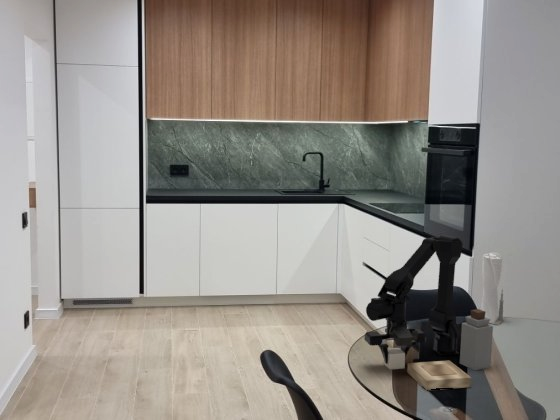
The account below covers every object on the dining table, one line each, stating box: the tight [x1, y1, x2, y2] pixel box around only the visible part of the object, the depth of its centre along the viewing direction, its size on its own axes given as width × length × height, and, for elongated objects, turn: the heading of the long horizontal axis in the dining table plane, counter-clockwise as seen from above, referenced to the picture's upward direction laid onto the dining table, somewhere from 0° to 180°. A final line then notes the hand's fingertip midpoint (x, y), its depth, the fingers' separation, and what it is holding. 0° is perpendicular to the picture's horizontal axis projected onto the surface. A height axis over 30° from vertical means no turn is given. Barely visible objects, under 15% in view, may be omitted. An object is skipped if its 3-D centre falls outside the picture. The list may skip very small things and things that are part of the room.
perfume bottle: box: [459, 308, 494, 371], centre depth 217 cm, size 7×7×18 cm
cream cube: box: [383, 347, 406, 370], centre depth 216 cm, size 5×5×5 cm
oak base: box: [406, 360, 472, 391], centre depth 205 cm, size 14×14×3 cm
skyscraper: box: [480, 252, 504, 326], centre depth 261 cm, size 8×8×28 cm
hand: (394, 362), depth 216 cm, fingers closed on cream cube, 5 cm apart
